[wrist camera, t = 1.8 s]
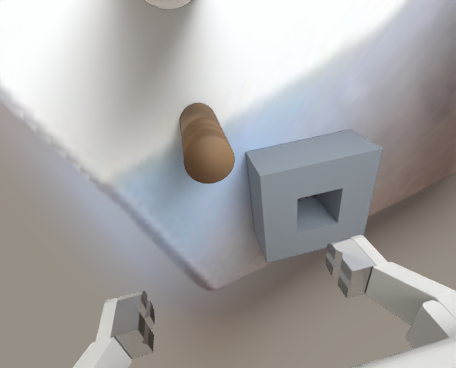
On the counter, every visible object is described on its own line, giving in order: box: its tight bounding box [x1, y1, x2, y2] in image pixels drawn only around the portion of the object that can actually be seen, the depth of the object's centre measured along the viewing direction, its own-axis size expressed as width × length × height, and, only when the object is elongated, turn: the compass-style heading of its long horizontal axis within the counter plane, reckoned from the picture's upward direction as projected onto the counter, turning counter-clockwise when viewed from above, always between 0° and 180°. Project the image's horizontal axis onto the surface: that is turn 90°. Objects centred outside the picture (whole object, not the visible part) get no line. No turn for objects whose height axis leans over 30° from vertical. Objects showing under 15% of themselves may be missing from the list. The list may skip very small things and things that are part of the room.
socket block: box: [246, 129, 383, 263], centre depth 33 cm, size 14×14×6 cm
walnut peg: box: [180, 103, 235, 184], centre depth 24 cm, size 4×4×10 cm
